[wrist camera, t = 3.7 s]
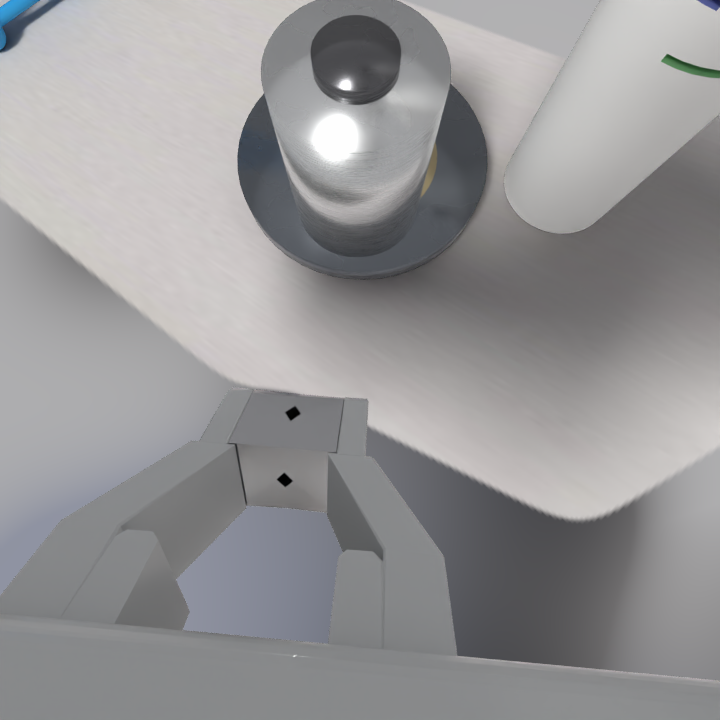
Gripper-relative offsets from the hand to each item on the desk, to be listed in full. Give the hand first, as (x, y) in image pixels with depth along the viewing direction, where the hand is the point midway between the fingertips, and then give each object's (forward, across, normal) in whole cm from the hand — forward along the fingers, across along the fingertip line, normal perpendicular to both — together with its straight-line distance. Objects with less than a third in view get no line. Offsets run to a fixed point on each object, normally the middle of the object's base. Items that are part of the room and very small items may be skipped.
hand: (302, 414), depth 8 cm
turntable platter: (+20, 0, -3) cm, 20 cm away
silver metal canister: (+17, 0, -2) cm, 17 cm away
